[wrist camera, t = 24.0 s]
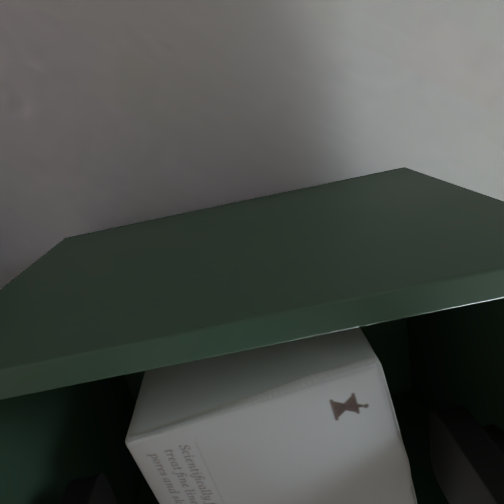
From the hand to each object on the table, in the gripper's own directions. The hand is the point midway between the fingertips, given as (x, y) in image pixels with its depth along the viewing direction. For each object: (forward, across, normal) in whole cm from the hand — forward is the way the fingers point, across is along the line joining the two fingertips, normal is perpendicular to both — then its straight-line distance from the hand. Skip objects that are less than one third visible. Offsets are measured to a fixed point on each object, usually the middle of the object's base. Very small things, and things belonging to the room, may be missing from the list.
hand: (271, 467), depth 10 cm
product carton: (+7, 0, +1) cm, 7 cm away
